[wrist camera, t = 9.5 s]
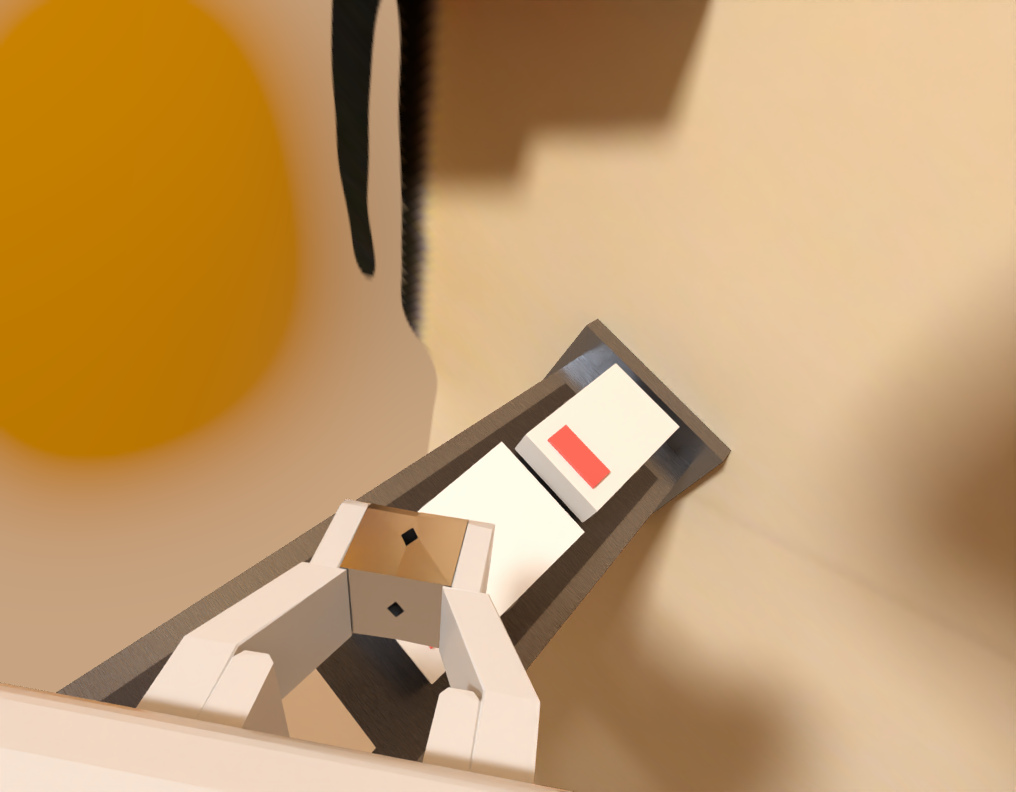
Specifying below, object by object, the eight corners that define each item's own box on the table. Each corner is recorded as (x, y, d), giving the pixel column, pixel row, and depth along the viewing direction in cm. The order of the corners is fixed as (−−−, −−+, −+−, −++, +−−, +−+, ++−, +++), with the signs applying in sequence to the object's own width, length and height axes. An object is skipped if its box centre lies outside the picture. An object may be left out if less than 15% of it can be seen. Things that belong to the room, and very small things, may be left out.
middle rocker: (501, 437, 24) (341, 570, 21) (587, 533, 23) (434, 687, 20) (494, 451, 26) (344, 576, 22) (574, 540, 25) (431, 684, 22)
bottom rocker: (616, 359, 33) (525, 430, 28) (682, 426, 32) (600, 511, 27) (601, 376, 34) (513, 447, 29) (664, 441, 33) (583, 524, 29)
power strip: (597, 318, 39) (-565, 987, 10) (731, 450, 36) (-260, 1826, 7) (527, 405, 45) (-279, 950, 16) (636, 520, 43) (-75, 1385, 14)
